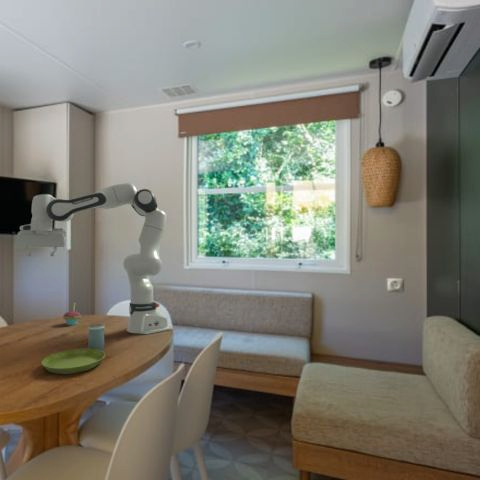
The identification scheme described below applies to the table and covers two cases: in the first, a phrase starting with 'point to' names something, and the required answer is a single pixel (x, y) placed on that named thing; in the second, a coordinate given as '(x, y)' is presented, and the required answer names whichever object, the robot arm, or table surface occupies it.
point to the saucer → (73, 361)
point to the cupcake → (72, 317)
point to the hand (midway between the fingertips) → (40, 256)
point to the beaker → (96, 337)
